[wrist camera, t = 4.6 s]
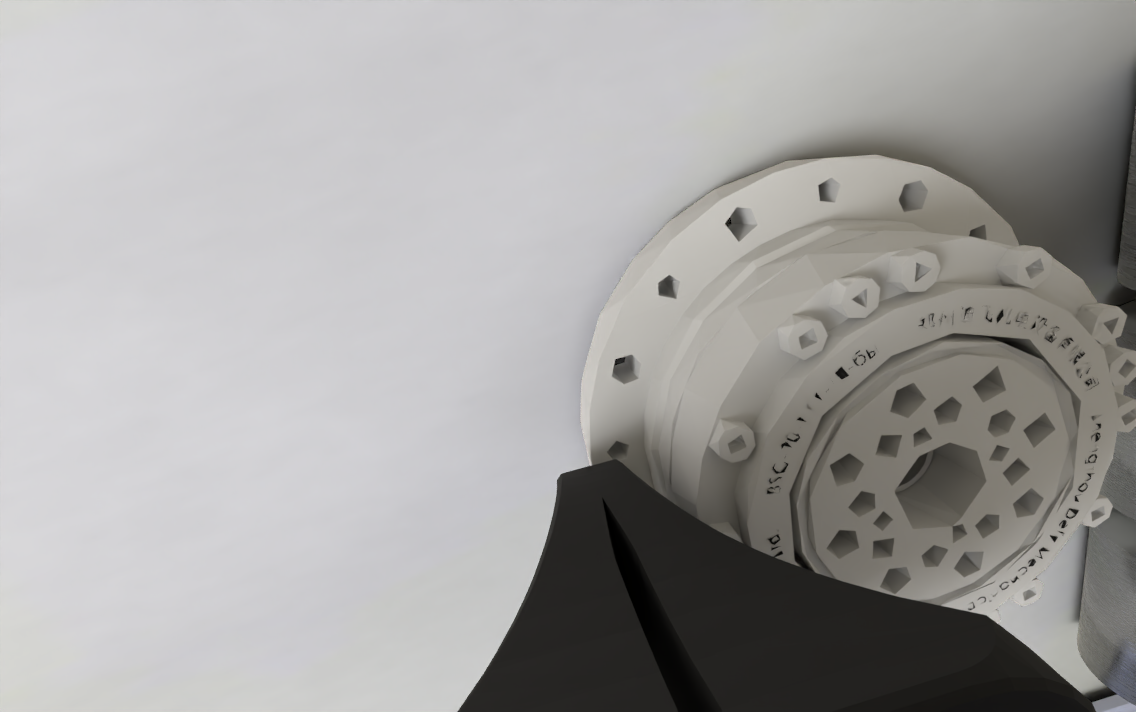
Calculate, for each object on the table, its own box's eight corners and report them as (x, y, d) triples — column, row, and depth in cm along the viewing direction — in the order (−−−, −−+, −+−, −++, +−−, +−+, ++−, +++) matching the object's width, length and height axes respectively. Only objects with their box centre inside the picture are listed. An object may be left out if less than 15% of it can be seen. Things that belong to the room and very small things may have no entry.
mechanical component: (1028, 439, 14) (916, 61, 11) (1259, 546, 10) (1189, -20, 7) (695, 632, 14) (489, 322, 11) (781, 815, 10) (491, 403, 7)
